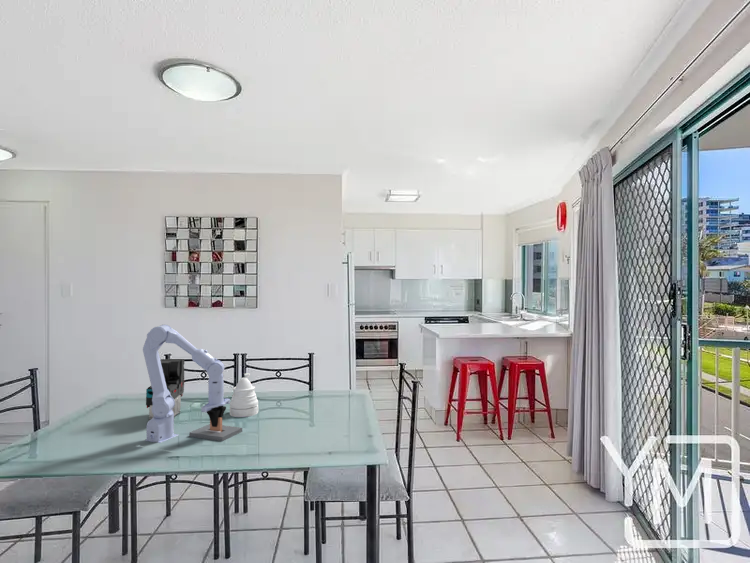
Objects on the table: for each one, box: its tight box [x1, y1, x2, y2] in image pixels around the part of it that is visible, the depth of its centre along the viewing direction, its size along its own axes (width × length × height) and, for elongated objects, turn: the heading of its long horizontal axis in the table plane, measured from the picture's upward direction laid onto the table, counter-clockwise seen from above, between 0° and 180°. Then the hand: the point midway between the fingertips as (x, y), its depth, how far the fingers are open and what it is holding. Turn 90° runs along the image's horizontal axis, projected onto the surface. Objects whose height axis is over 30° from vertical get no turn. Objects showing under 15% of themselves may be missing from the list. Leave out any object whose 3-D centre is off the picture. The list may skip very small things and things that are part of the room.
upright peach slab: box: [209, 417, 223, 432], centre depth 184 cm, size 1×5×6 cm, turn 69°
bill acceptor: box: [145, 358, 185, 421], centre depth 208 cm, size 10×23×25 cm, turn 8°
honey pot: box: [229, 372, 259, 418], centre depth 215 cm, size 13×13×18 cm
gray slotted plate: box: [188, 423, 243, 442], centre depth 184 cm, size 12×16×2 cm
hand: (216, 425), depth 184 cm, fingers closed on upright peach slab, 1 cm apart
